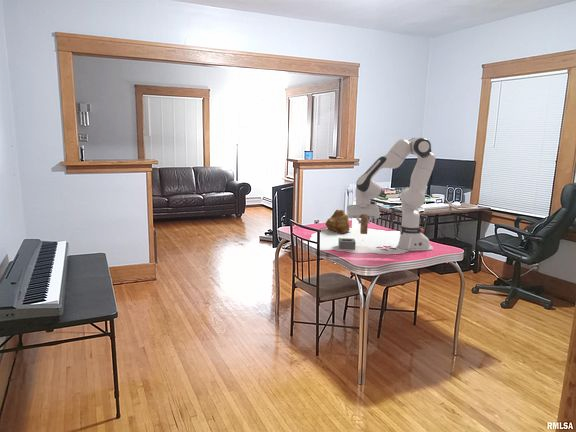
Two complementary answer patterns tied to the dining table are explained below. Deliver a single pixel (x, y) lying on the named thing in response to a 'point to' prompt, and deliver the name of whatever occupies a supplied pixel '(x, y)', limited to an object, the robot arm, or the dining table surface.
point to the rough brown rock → (338, 222)
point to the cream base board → (361, 248)
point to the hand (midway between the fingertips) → (364, 223)
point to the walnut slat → (364, 224)
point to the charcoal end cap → (346, 243)
